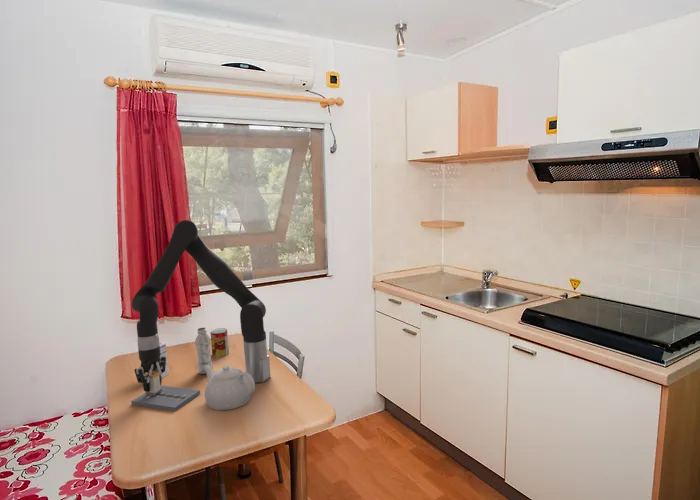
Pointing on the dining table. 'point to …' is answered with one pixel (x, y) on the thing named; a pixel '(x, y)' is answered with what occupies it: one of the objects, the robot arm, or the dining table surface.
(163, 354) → the syrup box
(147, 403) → the console
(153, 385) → the fader knob
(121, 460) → the dining table surface
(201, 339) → the plastic bottle
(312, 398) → the dining table surface
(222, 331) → the canned food
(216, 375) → the teapot
